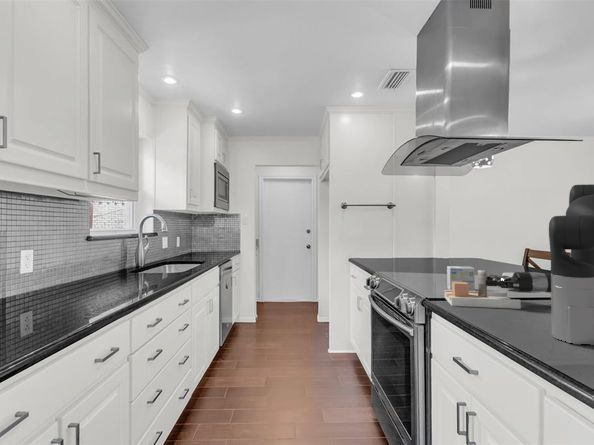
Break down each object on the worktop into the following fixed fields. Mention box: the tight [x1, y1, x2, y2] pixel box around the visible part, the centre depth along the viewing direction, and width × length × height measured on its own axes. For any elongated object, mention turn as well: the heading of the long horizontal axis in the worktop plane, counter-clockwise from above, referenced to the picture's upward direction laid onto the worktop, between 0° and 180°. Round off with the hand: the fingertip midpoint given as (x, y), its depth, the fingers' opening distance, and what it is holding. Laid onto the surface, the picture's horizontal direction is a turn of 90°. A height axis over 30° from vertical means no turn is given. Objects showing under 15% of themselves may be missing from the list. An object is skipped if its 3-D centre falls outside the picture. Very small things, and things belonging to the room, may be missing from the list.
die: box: [501, 272, 515, 292], centre depth 150 cm, size 8×9×10 cm
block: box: [452, 281, 469, 297], centre depth 130 cm, size 5×5×5 cm
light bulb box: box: [446, 265, 476, 291], centre depth 151 cm, size 11×7×11 cm, turn 78°
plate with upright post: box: [444, 269, 489, 300], centre depth 129 cm, size 11×14×11 cm
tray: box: [444, 289, 522, 310], centre depth 128 cm, size 14×23×3 cm, turn 76°
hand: (482, 280), depth 128 cm, fingers open, 8 cm apart
